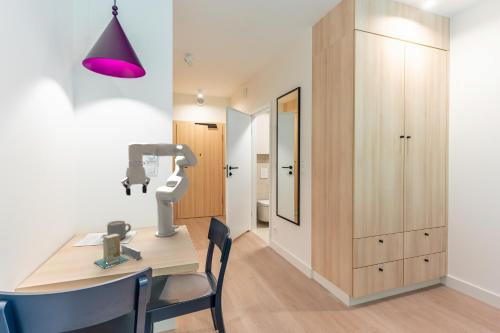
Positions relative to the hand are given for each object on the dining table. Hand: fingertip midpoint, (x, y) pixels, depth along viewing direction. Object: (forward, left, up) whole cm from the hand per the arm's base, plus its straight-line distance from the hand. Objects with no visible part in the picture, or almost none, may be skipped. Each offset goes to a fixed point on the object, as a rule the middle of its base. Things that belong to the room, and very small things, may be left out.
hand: (136, 194), depth 140 cm
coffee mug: (-1, -22, -31) cm, 38 cm away
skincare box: (+19, +9, -30) cm, 36 cm away
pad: (+20, +9, -30) cm, 37 cm away
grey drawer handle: (+10, +10, -30) cm, 33 cm away
